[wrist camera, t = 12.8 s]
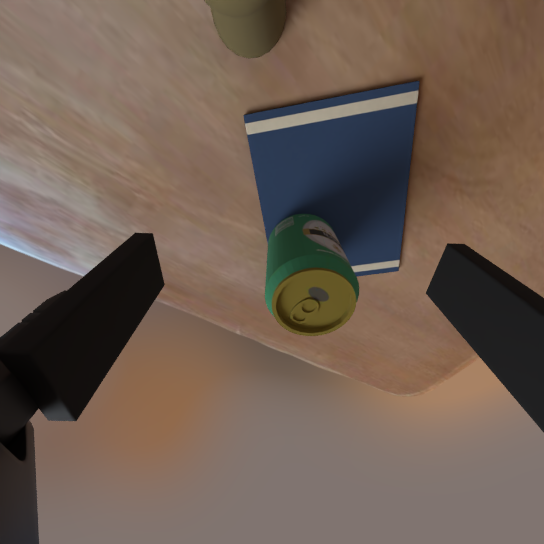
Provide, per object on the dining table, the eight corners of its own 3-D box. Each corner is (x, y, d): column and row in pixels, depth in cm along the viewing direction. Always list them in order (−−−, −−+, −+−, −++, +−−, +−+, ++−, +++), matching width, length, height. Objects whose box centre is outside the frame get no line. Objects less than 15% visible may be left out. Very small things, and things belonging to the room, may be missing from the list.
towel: (243, 114, 24) (243, 114, 24) (417, 81, 23) (419, 80, 22) (276, 284, 35) (276, 286, 34) (397, 269, 33) (398, 271, 33)
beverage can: (348, 234, 30) (385, 295, 20) (306, 280, 34) (320, 352, 24) (294, 196, 28) (304, 243, 18) (255, 250, 31) (245, 315, 21)
